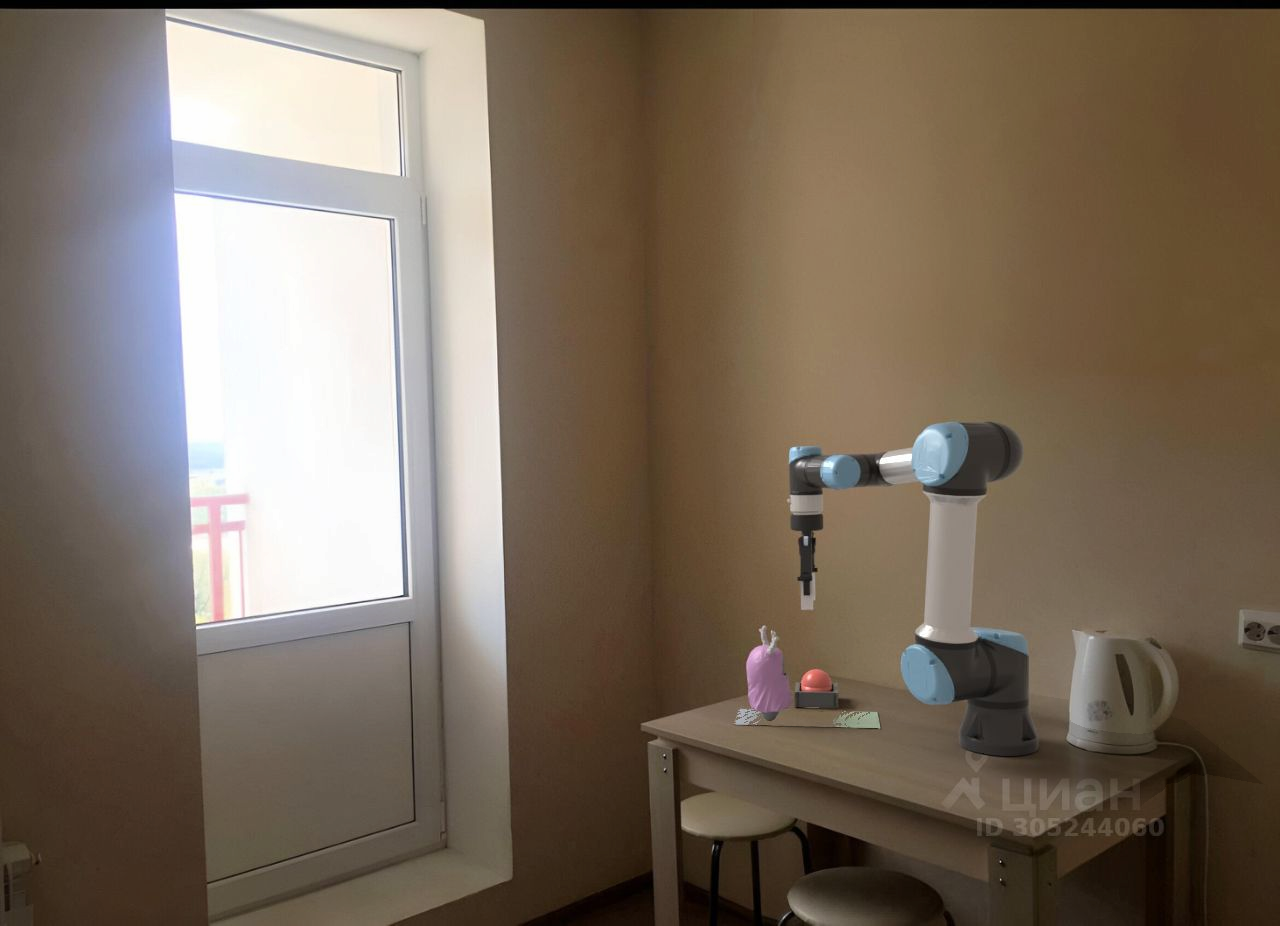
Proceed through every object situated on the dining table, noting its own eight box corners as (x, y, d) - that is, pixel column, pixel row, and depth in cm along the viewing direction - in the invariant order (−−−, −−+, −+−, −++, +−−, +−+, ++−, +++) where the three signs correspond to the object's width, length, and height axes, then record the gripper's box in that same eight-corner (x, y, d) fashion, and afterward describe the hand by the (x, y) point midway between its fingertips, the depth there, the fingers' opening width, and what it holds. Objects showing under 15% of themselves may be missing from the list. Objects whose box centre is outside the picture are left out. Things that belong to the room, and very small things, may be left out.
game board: (880, 729, 224) (880, 728, 224) (734, 725, 229) (734, 724, 229) (877, 712, 237) (877, 712, 237) (739, 709, 242) (739, 708, 242)
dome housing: (838, 709, 241) (838, 692, 241) (794, 708, 242) (794, 692, 242) (837, 698, 250) (837, 682, 250) (796, 697, 252) (795, 682, 252)
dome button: (832, 703, 242) (831, 673, 242) (801, 702, 244) (800, 672, 243) (831, 696, 249) (831, 666, 249) (801, 695, 250) (801, 666, 250)
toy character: (797, 724, 228) (795, 632, 228) (749, 725, 228) (747, 633, 228) (790, 709, 240) (788, 622, 240) (745, 710, 241) (743, 623, 240)
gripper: (793, 509, 256) (795, 596, 257) (786, 517, 232) (788, 613, 232) (824, 509, 255) (826, 596, 255) (821, 517, 230) (823, 613, 231)
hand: (808, 604), depth 244 cm, fingers open, 13 cm apart
